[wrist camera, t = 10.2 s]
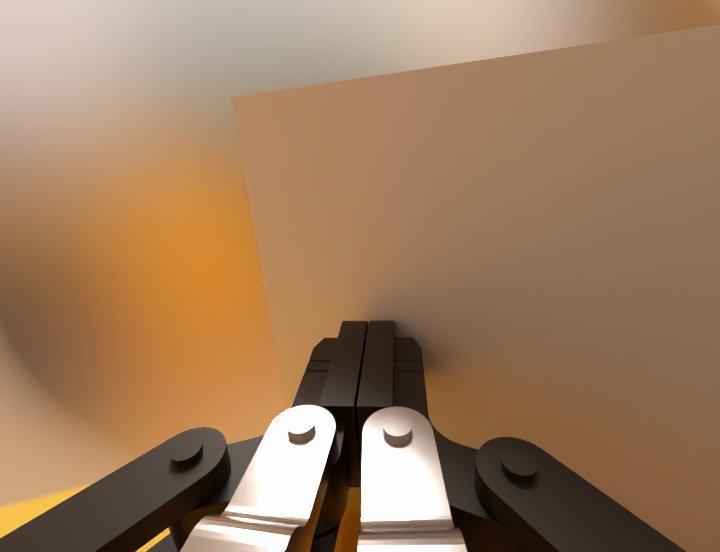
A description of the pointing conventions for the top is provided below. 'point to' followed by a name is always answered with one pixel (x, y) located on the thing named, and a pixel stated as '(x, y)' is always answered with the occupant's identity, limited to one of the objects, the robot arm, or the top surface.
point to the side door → (519, 251)
